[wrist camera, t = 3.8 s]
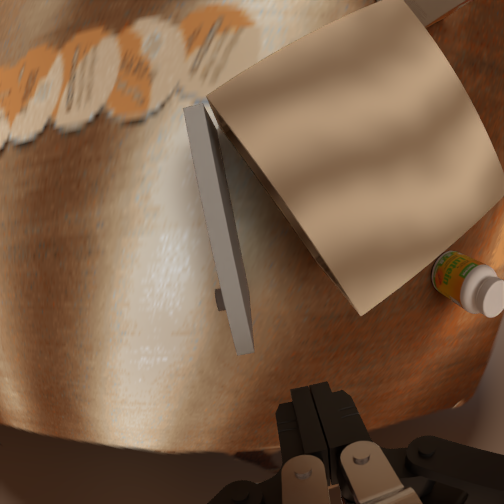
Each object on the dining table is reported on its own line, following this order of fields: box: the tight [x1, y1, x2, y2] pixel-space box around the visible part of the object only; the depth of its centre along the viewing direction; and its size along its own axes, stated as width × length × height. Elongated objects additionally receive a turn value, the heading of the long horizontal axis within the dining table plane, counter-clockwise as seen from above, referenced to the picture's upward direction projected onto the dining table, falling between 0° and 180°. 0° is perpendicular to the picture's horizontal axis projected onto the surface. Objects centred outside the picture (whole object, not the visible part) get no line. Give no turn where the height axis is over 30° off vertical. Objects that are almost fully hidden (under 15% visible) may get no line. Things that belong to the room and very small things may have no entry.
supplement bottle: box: [432, 251, 504, 317], centre depth 30 cm, size 5×5×10 cm
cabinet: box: [206, 0, 504, 316], centre depth 24 cm, size 17×16×13 cm
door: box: [183, 104, 254, 356], centre depth 26 cm, size 16×2×12 cm, turn 11°
